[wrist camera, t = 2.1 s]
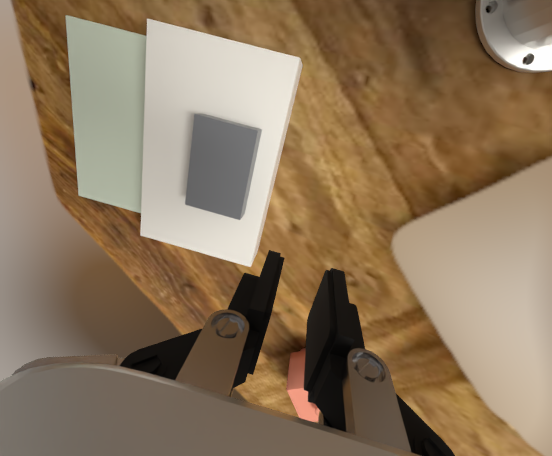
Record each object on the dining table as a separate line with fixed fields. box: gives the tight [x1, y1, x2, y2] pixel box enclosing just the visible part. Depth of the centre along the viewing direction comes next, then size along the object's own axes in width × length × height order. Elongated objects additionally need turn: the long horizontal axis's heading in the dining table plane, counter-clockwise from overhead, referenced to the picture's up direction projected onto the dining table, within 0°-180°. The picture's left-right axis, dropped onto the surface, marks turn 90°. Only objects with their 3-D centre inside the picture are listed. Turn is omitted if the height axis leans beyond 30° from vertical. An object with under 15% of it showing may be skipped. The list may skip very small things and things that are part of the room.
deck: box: [141, 18, 303, 267], centre depth 30 cm, size 22×14×4 cm, turn 166°
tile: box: [185, 114, 262, 220], centre depth 27 cm, size 9×6×2 cm, turn 166°
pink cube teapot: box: [286, 348, 320, 422], centre depth 38 cm, size 8×12×8 cm, turn 20°
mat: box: [66, 15, 147, 213], centre depth 32 cm, size 20×10×1 cm, turn 166°
